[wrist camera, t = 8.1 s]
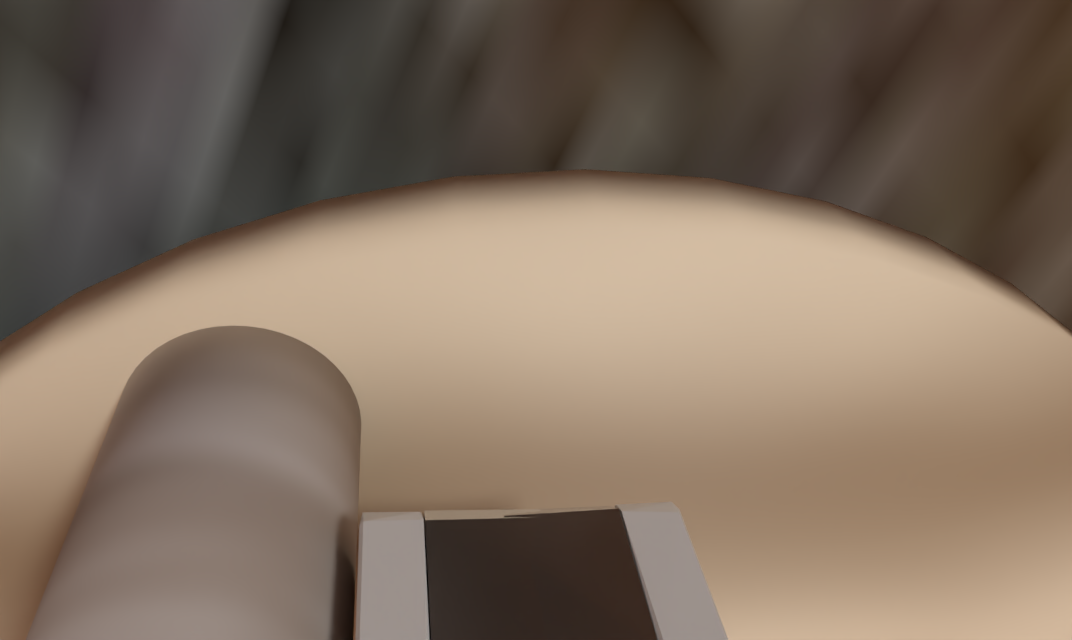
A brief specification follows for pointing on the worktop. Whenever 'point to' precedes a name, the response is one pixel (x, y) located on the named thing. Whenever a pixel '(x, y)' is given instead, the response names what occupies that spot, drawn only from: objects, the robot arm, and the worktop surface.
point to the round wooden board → (542, 411)
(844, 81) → the worktop surface
